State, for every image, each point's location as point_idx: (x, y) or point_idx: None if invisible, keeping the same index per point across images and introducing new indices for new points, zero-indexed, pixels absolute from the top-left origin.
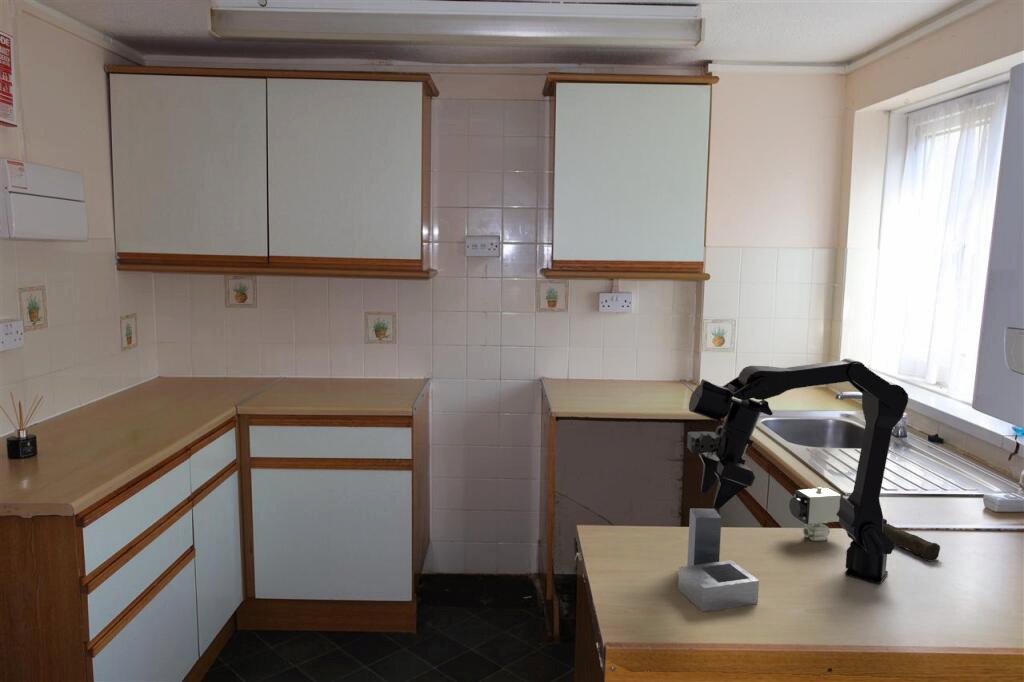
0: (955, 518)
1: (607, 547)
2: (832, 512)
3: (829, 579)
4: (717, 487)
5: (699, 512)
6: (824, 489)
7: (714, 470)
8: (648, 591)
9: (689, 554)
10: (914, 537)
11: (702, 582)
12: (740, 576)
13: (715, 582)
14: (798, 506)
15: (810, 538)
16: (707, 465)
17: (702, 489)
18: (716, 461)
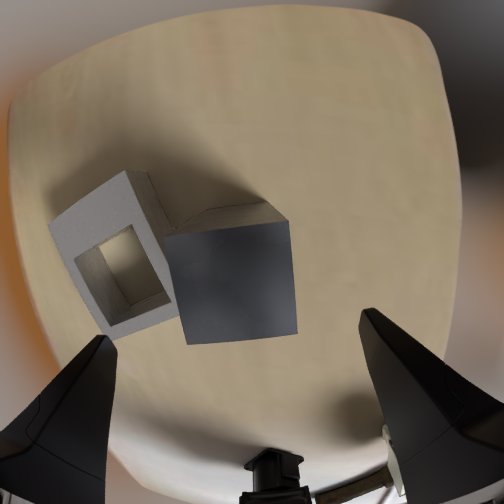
0: (404, 495)
1: (339, 38)
2: (392, 472)
3: (250, 432)
4: (46, 418)
5: (235, 261)
6: None
7: (417, 452)
8: (130, 112)
9: (252, 206)
10: (341, 501)
11: (65, 223)
12: (138, 312)
13: (72, 252)
14: None
15: None
16: (455, 445)
17: (367, 319)
18: (444, 500)
